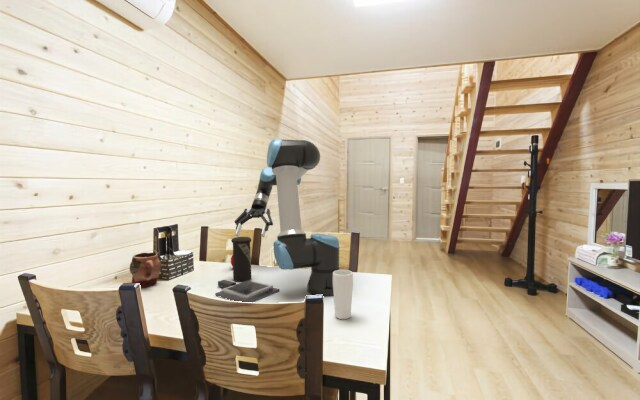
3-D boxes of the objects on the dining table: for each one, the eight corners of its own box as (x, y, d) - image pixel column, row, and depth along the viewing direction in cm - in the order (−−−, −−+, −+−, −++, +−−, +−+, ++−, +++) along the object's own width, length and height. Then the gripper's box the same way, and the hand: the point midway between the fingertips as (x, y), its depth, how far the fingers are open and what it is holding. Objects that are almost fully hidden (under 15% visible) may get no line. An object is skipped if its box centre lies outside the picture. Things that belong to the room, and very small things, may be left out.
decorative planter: (170, 286, 141) (169, 255, 140) (140, 294, 132) (139, 260, 131) (151, 278, 154) (150, 249, 153) (123, 284, 145) (121, 253, 144)
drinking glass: (357, 316, 108) (357, 271, 107) (344, 322, 103) (344, 276, 102) (341, 311, 112) (340, 268, 111) (328, 317, 107) (328, 272, 106)
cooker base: (279, 291, 133) (279, 285, 133) (246, 305, 119) (245, 298, 118) (237, 281, 148) (237, 275, 148) (203, 291, 134) (203, 286, 133)
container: (247, 282, 146) (246, 238, 145) (229, 281, 147) (228, 238, 146) (255, 277, 154) (254, 235, 153) (237, 276, 156) (236, 235, 155)
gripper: (283, 207, 174) (275, 240, 160) (240, 207, 179) (228, 239, 165) (280, 198, 169) (271, 231, 155) (236, 198, 173) (223, 230, 159)
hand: (249, 235), depth 160 cm, fingers open, 13 cm apart
